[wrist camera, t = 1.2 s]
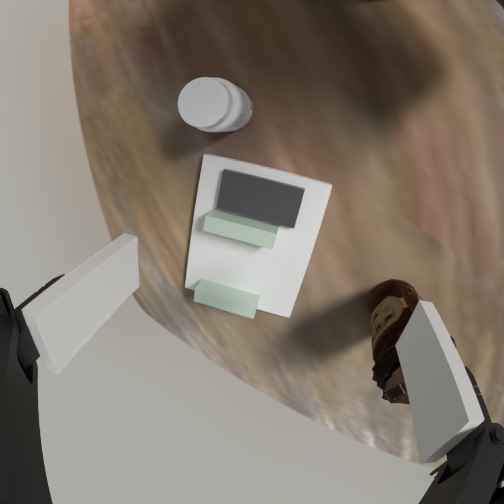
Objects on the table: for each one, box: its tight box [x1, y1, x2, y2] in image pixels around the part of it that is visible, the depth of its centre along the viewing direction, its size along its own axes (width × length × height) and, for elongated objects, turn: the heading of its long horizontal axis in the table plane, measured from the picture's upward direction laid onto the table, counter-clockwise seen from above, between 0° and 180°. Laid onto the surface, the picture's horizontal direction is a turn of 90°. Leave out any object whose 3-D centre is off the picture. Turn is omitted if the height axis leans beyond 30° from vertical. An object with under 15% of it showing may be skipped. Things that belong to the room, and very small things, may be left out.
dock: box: [185, 154, 332, 319], centre depth 30 cm, size 16×13×4 cm
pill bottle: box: [178, 77, 253, 132], centre depth 22 cm, size 5×5×8 cm
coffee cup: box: [369, 279, 456, 404], centre depth 25 cm, size 9×8×13 cm
